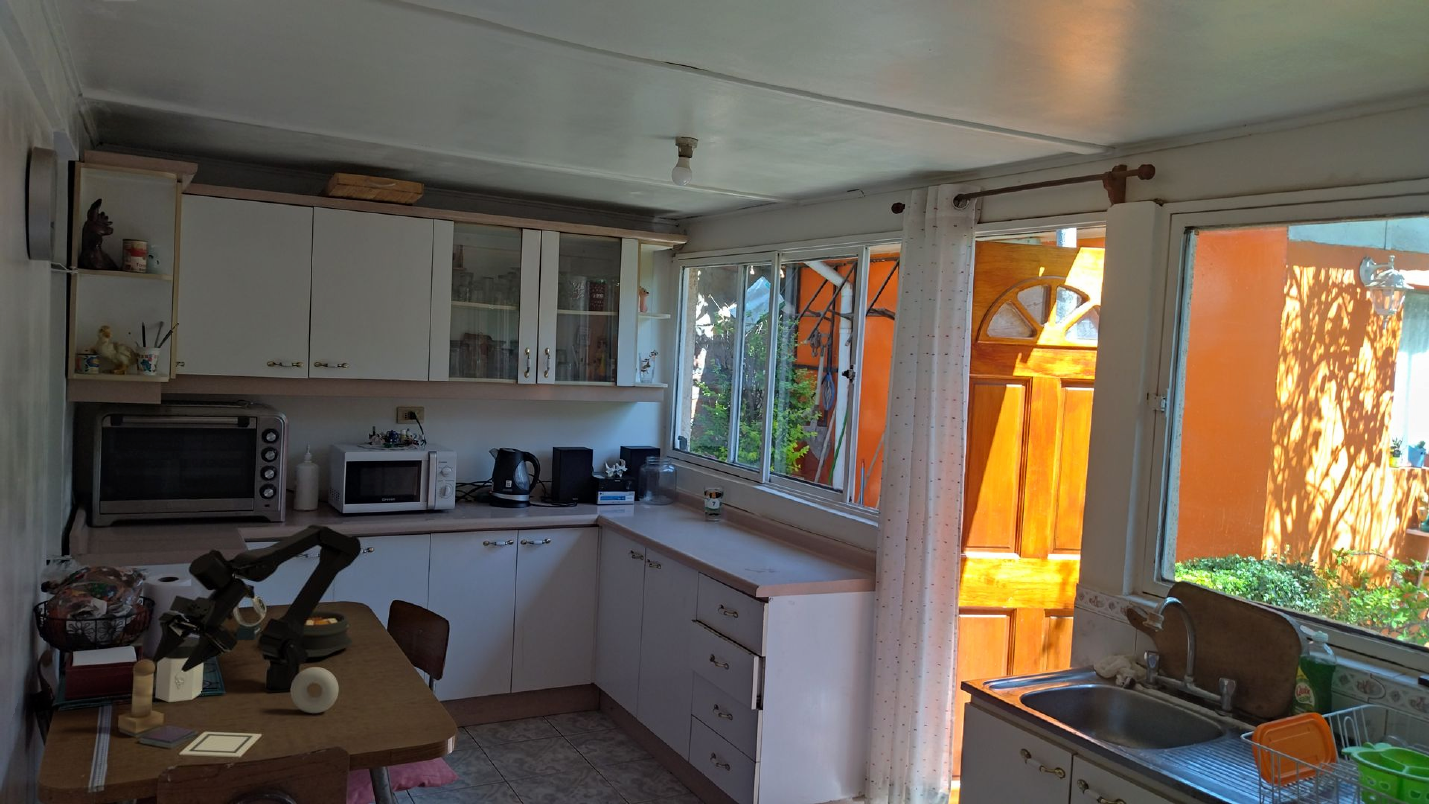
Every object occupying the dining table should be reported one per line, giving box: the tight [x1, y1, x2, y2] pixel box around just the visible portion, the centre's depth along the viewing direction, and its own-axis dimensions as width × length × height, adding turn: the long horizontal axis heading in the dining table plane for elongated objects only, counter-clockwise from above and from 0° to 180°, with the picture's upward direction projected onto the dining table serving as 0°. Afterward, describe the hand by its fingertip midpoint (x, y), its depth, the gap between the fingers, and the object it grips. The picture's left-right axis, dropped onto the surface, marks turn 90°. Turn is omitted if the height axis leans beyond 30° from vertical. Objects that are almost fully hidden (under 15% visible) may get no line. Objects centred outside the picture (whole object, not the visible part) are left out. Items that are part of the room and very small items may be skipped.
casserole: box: [300, 610, 353, 658], centre depth 254 cm, size 25×19×8 cm
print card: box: [178, 731, 262, 758], centre depth 190 cm, size 11×11×1 cm
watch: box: [232, 595, 268, 641], centre depth 260 cm, size 6×8×11 cm
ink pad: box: [139, 725, 199, 749], centre depth 191 cm, size 7×7×1 cm
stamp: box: [117, 658, 165, 738], centre depth 194 cm, size 6×6×14 cm
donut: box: [289, 666, 340, 714], centre depth 210 cm, size 10×4×10 cm, turn 94°
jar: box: [154, 636, 205, 703], centre depth 214 cm, size 9×8×12 cm
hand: (168, 666), depth 199 cm, fingers open, 9 cm apart
